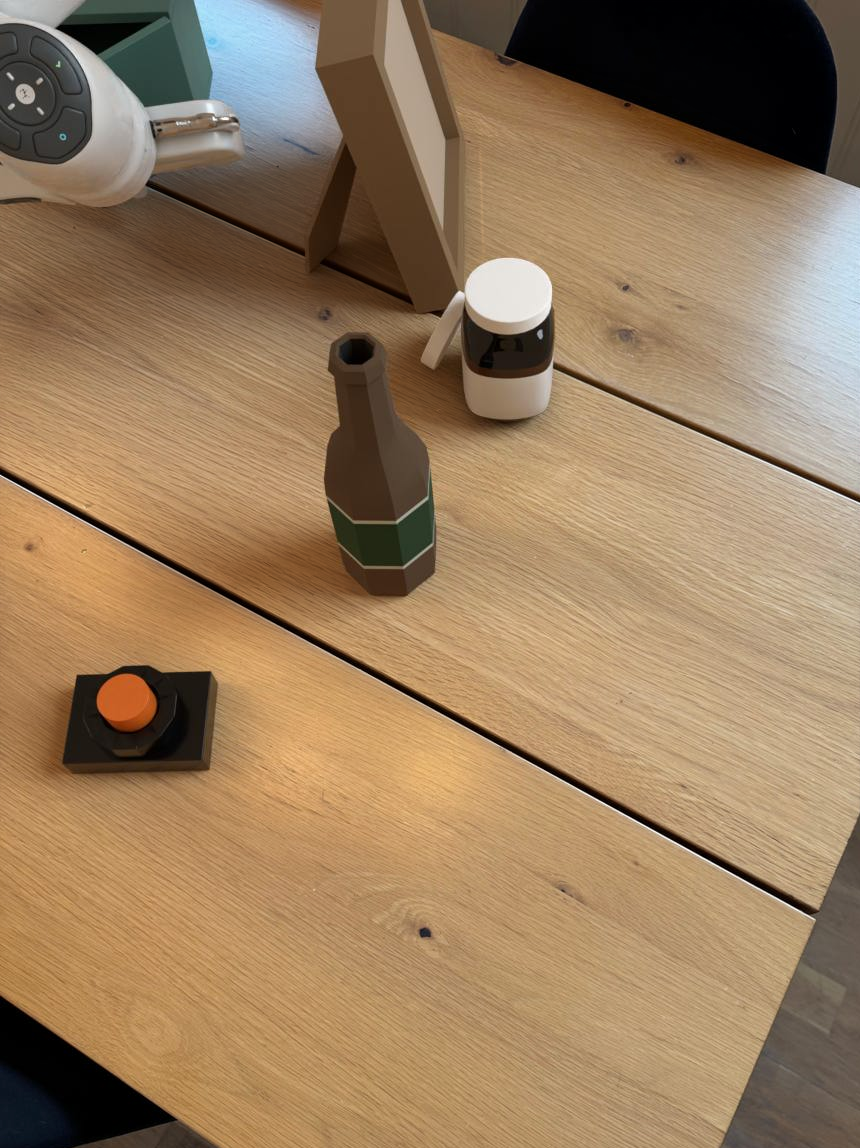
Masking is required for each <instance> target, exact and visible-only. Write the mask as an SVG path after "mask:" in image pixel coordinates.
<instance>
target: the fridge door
mask: <svg viewBox="0 0 860 1148" xmlns="http://www.w3.org/2000/svg"><path fill="white" fill-rule="evenodd" d="M97 56H98V57H99V58H100V59H101V60H102V61H103V62H104V63H105V64H106V65H107V66H108V67H109V68H110V69H111V70H112V71H113V72H114V74H115V75H116V76H117V77H118V78H119V79H120V80H121V81H122V82H123V83H124V84H125V85H126V86H127V87H128V88H129V89H130V90H131V91H132V92H133V93H134V94H135V95H136V97H137V98H138V99H139V100H140V101H141V103H142V104H143V106H144V107H151V106H158V105H165V104H172V103H179V102H186V101H194V99H193V96H192V92H191V89H190V85H189V82H188V78H187V75H186V71H185V68H184V64H183V61H182V57H181V54H180V50H179V47H178V43H177V40H176V36H175V33H174V29H173V26H172V22H171V20H169V19H168V18H166V17H165V16H164V17H162V18H160V19H159V20H157V21H155V22H153V23H152V24H150V25H148V26H147V27H145V28H143V29H141V30H140V31H138V32H136V33H135V34H133V35H131V36H129V37H128V38H126V39H124V40H122V41H121V42H119V43H117V44H116V45H114V46H112V47H110V48H109V49H107V50H105V51H104V52H102V53H100V54H98V55H97ZM156 175H157V174H151V176H150V177H149V179H151V178H152V177H155V176H156ZM147 195H148V188H147V185H146V184H145V185H144V187H143V188H142V189H141V190H140V191H139V192H138V193H137V194H136V195H135V196H133V197H132V198H133V199H137V200H140V199H143V198H145V197H146V196H147ZM100 208H101V209H104V208H105V207H100Z"/></svg>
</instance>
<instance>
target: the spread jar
mask: <svg viewBox="0 0 860 1148" xmlns="http://www.w3.org/2000/svg"><path fill="white" fill-rule="evenodd" d="M552 299H553V286H552V282H551V279H550V278H549V275H547V273H546V272H545V271H544V269H542V268H541V267H540V266H538V265H537V264H535V263H533V262H532V261H528V260H525V259H523V258H517V257H501V258H496V259H491V260H488V261H486V262H484V263H482V264H480V265H479V266H477V267H476V268H475V269H473V271H472V272H471V273H470V274H469V276H468V277H467V279H466V281H465V283H464V293H463V292H461V291H458V292H457V294H456V295H455V296H454V298H453V299H452V301H451V302H450V304H449V305H448V307H447V309H444V311H443V314H442V315H441V317H440V319H439V321H438V323H437V324H436V326H435V328H434V330H433V331H432V333H431V336H430V337H429V339H428V341H427V344H426V346H425V348H424V350H423V352H422V356H421V357H420V363H422V364H423V365H425V366H426V367H428V368H430V369H432V370H436V369H437V368H438V366H439V365H440V363H441V362H442V360H443V359H444V357H445V355H446V354H447V352H448V351H449V349H450V347H451V345H452V344H453V342H454V340H455V338H456V337H457V335H458V333H459V331H460V344H461V345H460V347H461V365H462V366H461V367H462V368H461V369H462V384H463V385H462V386H463V391H464V392H463V393H464V398H465V402H466V405H467V406H468V408H469V410H470V412H472V414H474V415H476V416H477V417H479V418H483V419H485V420H490V421H496V422H497V421H498V422H518V421H523V420H528V419H531V418H535V417H537V416H539V415H541V414H543V413H544V411H545V410H546V409H547V407H548V406H549V403H550V398H551V393H552V385H553V375H554V374H553V371H554V359H555V358H554V355H555V343H556V318H555V309H554V305H553V301H552Z"/></svg>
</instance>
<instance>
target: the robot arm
mask: <svg viewBox="0 0 860 1148" xmlns="http://www.w3.org/2000/svg"><path fill="white" fill-rule="evenodd" d="M85 1H86V0H0V205H1V206H2V205H15V204H24V203H26V204H27V203H41V202H50V203H58V204H64V205H69V206H75V205H77V203H78V204H79V205H83V206H87V207H94V208H101V207H104V208H108V207H113V206H117V205H120V204H123V203H125V202H127V201H128V200H130V199H132V198H133V196H135V195H136V194H137V193H138V192H139V191H140V190H141V189H142V188H143V187H144V185H146V184H147V183H148V181H149V179H150V178H149V177H150V176H151V174H156V175H158V174H164V173H165V174H166V173H171V172H178V171H185V170H191V169H198V168H204V167H211V166H218V165H223V164H230V163H235V162H238V161H240V160H242V159H244V158H245V155H246V152H245V151H246V150H245V146H244V140H243V134H242V129H241V127H240V126H241V121H240V120H239V117H238V114H237V112H236V110H235V109H234V108H233V107H231V106H230V105H229V104H227V103H225V102H224V101H221V100H217V99H209V100H194V101H186V102H179V103H172V104H165V105H158V106H151V107H144V106H143V104H142V103H141V101H140V100H139V99H138V98H137V97H136V95H135V94H134V93H133V92H132V91H131V90H130V89H129V88H128V87H127V86H126V85H125V84H124V83H123V82H122V81H121V80H120V79H119V78H118V77H117V76H116V75H115V74H114V72H113V71H112V70H111V69H110V68H109V67H108V66H107V65H106V64H105V63H104V62H103V61H102V60H101V59H100V58H99V57H98V56H97V55H96V54H94V53H93V52H92V51H91V50H89V49H88V48H87V47H85V46H84V45H82V44H81V43H80V42H78V41H76V40H75V39H73V38H71V37H70V36H68V35H66V34H64V33H63V32H61V31H58V30H56V29H55V28H56V27H57V26H59V25H60V24H61V23H62V22H63V21H64V20H65V19H66V18H67V17H68V16H70V15H71V14H72V13H73V12H74V11H75V10H76V9H77V8H78V7H79V6H81V5H82V4H83V3H84V2H85Z"/></svg>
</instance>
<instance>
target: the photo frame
mask: <svg viewBox="0 0 860 1148" xmlns="http://www.w3.org/2000/svg"><path fill="white" fill-rule="evenodd" d="M427 13H428V12H427V10H426V7H425V4H424V0H322V3H321V10H320V20H319V28H318V39H317V47H316V57H315V63H314V64H315V65H314V69H315V72H316V74H317V77H318V79H319V81H320V84H321V86H322V88H323V91H324V93H325V96H326V98H327V101H328V103H329V105H330V108H331V111H332V113H333V115H334V118H335V120H336V123H337V125H338V127H339V129H340V132H341V135H342V137H341V140H340V143H339V146H338V148H337V151H336V153H335V156H334V158H333V161H332V163H331V166H330V168H329V170H328V171H329V172H328V174H327V175H326V176H327V177H326V179H325V182H324V185H323V187H322V190H321V193H320V195H319V197H318V200H317V203H316V205H315V207H314V210H313V213H312V216H311V218H310V221H309V223H308V226H307V227H306V231H305V234H304V259H305V260H304V261H305V272H307V273H308V274H311V272H312V271H313V270H314V269H315V268H317V266H319V264H320V263H322V261H324V259H326V258H327V256H329V255H330V254H331V253H332V252H333V251H334V250H335V248H336V247H337V246H338V244H339V240H340V237H341V232H342V228H343V226H344V225H343V224H344V220H345V216H346V212H347V208H348V206H349V201H350V196H351V193H352V188H353V185H354V181H355V177H356V173H357V172H358V175H359V178H360V180H361V182H362V184H363V185H362V186H363V187H364V189H365V192H366V193H367V197H368V199H369V201H370V204H371V206H372V208H373V211H374V213H375V216H376V218H377V220H378V223H379V225H380V227H381V230H382V232H383V235H384V237H385V239H386V242H387V244H388V247H389V250H390V252H391V254H392V256H393V259H394V261H395V263H396V266H397V268H398V270H399V273H400V275H401V278H402V280H403V283H404V285H405V287H406V290H407V292H408V294H409V297H410V300H411V302H412V304H413V306H414V309H415V312H416V314H417V315H420V314H424V313H429V312H431V313H432V312H435V311H440V310H446V309H447V307H448V305H449V304H450V302H451V301H452V299H453V298H454V296H455V295H456V294H457V292H458V291H461V292H463V293H464V294H465V291H464V290H465V221H466V219H465V215H466V211H465V210H466V209H465V208H466V140H465V139H466V138H465V136H464V133H463V129H462V126H461V122H460V119H459V116H458V112H457V110H456V105H455V103H454V100H453V96H452V93H451V89H450V86H449V83H448V79H447V76H446V73H445V70H444V66H443V63H442V59H441V56H440V53H439V49H438V46H437V43H436V39H435V36H434V33H433V30H432V26H431V23H430V19H429V16H428V14H427Z"/></svg>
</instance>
